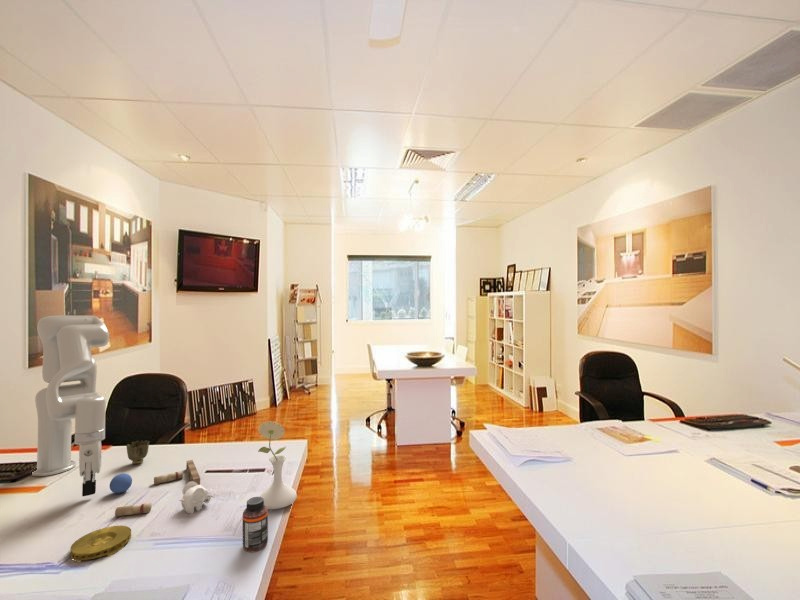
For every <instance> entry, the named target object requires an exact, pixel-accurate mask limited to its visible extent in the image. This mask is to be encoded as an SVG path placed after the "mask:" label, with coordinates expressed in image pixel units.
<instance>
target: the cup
mask: <svg viewBox="0 0 800 600" xmlns="http://www.w3.org/2000/svg"><path fill="white" fill-rule="evenodd" d="M125 446H126V453H127V457H128V459H129V460H130V461H131V463H132V465H136V466H137V465H141V464H143V463H144V459H145V458H146V457H147V455H148V452H149V447H150V441H149V440H145V439H144V440H136V441H131V444H129V443H127V444H126V445H125Z"/></svg>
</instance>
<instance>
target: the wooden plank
mask: <svg viewBox="0 0 800 600" xmlns="http://www.w3.org/2000/svg"><path fill="white" fill-rule="evenodd" d="M194 462H195V461H194V460H193V459H190V460H186V467H185V468H186V471H187V475H188V477H189V480H190V481H194V482H196V483H197V484H198V485H201V476H200V474H199V472H198V469H197V467H196V464H195V463H194Z"/></svg>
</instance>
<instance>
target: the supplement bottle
mask: <svg viewBox="0 0 800 600" xmlns="http://www.w3.org/2000/svg"><path fill="white" fill-rule="evenodd" d="M268 512H269V509H267V507H266V506H265V505H264V499H263V498H262V497H260V496H254V497H250V498H249V499H247V500H246V508H245V509H243V512H242V548H243V551H246V552H248V553H255V552H258V551H260V550H262V549H264V548H265V547H266V546H267V545H268V542H269V537H268V536H269V525H268V524H269V517H268V515H269V513H268Z"/></svg>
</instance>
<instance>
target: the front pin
mask: <svg viewBox="0 0 800 600" xmlns="http://www.w3.org/2000/svg"><path fill="white" fill-rule="evenodd" d="M152 508H153V507H152V503H151V502H149V503H148V502H147V503H140V504H139V503H138V504H133V505H124V506H119V507H116V508H115V511H114V517H122V516H131V515H139V514H146V513H150V512H151V511H152Z"/></svg>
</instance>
